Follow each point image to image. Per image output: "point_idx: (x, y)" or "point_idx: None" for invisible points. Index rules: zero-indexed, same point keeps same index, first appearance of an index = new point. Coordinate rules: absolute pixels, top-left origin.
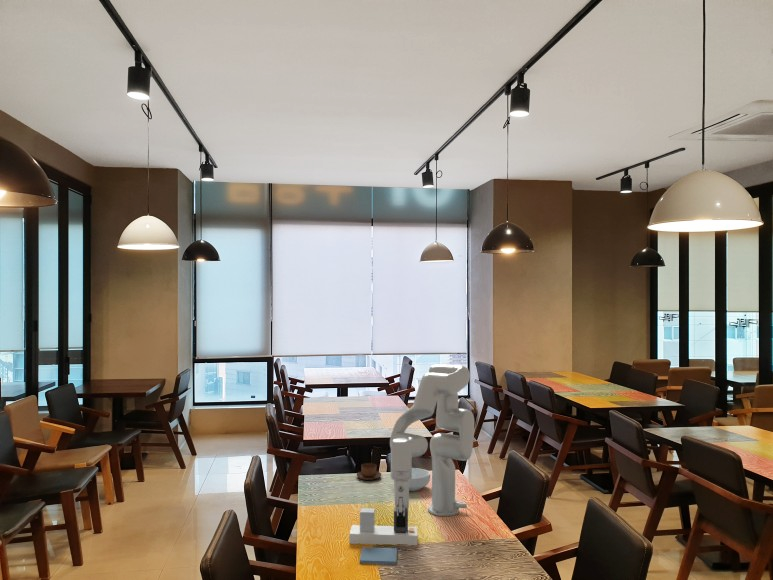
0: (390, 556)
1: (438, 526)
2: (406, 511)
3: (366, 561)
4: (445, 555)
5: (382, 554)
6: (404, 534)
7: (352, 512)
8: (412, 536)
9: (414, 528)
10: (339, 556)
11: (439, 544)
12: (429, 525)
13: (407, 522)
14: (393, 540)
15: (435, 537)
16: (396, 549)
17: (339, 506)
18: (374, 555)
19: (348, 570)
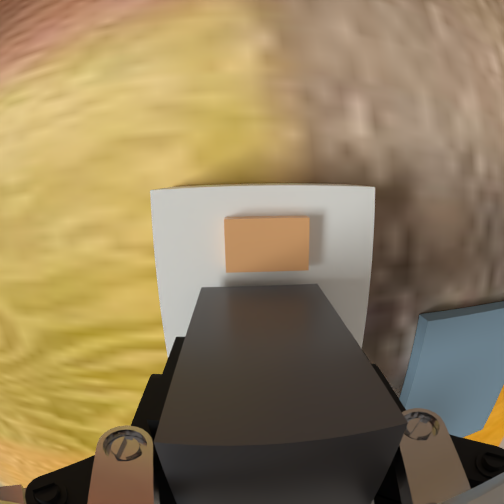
0: (494, 335)
1: (17, 67)
2: (396, 443)
3: (490, 408)
4: (445, 34)
5: (470, 374)
6: (350, 305)
7: (16, 466)
8: (371, 231)
9: (198, 215)
10: None
11: (305, 28)
12: (3, 123)
13: (343, 327)
14: None
15: (181, 50)
16: (440, 321)
17: (4, 480)
18: (469, 400)
19: (499, 429)
